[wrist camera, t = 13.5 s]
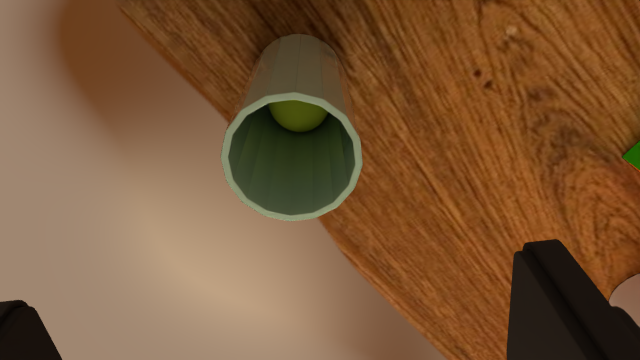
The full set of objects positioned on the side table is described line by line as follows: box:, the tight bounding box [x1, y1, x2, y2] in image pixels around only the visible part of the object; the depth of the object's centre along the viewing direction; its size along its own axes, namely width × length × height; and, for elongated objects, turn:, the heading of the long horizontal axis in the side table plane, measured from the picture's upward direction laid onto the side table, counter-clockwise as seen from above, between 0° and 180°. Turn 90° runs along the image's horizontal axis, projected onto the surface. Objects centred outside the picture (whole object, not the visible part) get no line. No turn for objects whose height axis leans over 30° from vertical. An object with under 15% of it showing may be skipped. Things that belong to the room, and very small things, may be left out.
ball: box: [269, 99, 328, 132], centre depth 28 cm, size 4×4×4 cm
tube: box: [221, 34, 363, 221], centre depth 25 cm, size 6×6×12 cm
